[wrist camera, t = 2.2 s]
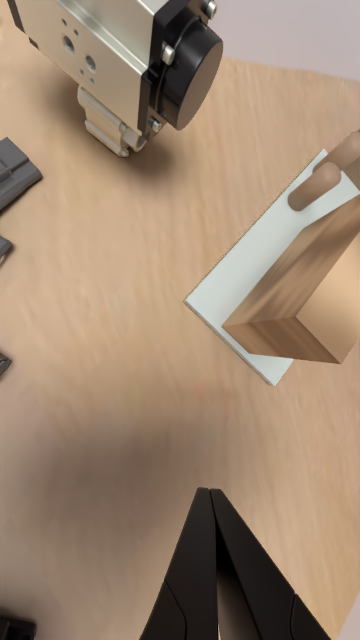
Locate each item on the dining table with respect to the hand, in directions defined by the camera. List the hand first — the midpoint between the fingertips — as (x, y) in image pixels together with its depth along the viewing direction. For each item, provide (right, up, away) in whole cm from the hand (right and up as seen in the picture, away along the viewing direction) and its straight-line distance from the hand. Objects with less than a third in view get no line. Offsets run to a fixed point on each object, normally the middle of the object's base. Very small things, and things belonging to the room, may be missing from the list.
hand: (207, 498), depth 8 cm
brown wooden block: (+8, +9, +14) cm, 18 cm away
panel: (+10, +12, +15) cm, 22 cm away
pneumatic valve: (-7, +22, +12) cm, 26 cm away
